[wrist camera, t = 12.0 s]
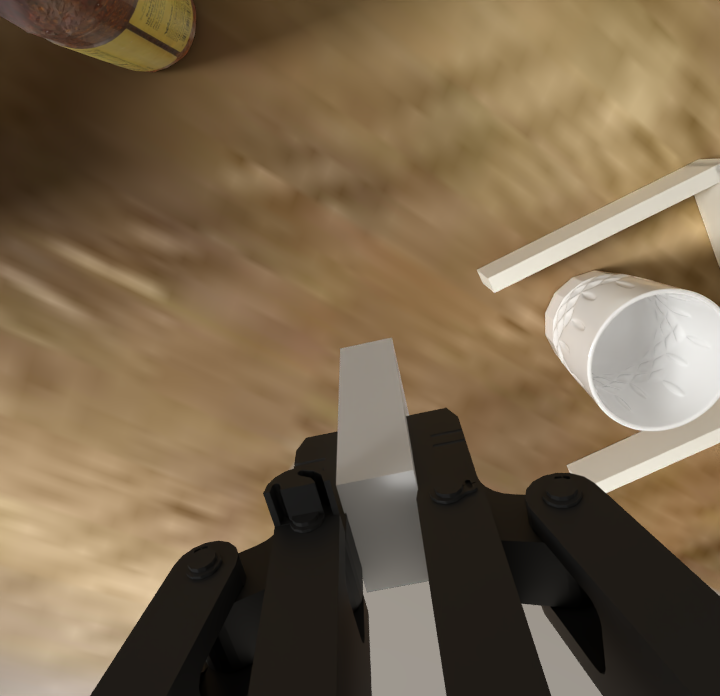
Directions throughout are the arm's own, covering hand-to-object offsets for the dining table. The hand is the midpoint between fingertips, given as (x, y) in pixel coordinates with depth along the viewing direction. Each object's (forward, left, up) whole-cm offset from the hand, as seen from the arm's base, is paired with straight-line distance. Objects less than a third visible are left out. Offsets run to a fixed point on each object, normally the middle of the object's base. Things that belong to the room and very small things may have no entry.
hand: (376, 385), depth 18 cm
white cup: (+12, -10, -25) cm, 29 cm away
